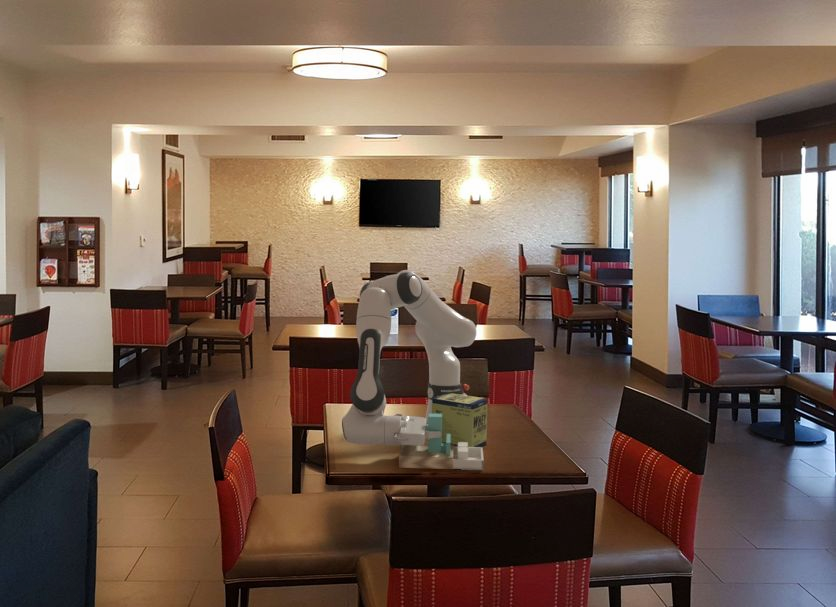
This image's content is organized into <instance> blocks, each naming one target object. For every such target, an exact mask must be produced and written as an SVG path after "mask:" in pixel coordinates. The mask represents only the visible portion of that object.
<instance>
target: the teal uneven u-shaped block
mask: <svg viewBox="0 0 836 607" xmlns="http://www.w3.org/2000/svg"><path fill="white" fill-rule="evenodd" d="M427 424H428V431H441V437H440V438H431V439H427V445H428V453H441V452H444V453H446V456H450V443H451V434H447V439H446V443H442V414H429V416H428V423H427Z"/></svg>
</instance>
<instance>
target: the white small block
mask: <svg viewBox="0 0 836 607" xmlns="http://www.w3.org/2000/svg"><path fill="white" fill-rule="evenodd" d="M458 459H468V448H467V447H458Z"/></svg>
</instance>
